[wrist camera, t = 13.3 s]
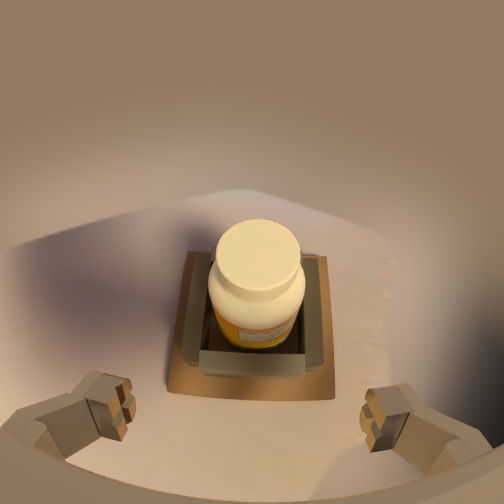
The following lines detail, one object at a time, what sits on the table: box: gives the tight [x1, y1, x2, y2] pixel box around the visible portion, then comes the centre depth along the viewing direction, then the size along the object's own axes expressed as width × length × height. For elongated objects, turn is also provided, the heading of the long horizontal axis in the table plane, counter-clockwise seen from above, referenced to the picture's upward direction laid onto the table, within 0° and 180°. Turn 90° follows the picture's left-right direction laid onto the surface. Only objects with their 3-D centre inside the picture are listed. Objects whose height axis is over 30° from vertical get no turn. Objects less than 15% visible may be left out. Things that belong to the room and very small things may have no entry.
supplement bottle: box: [208, 219, 305, 354], centre depth 18 cm, size 5×5×10 cm
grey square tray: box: [167, 247, 335, 401], centre depth 21 cm, size 12×12×4 cm
